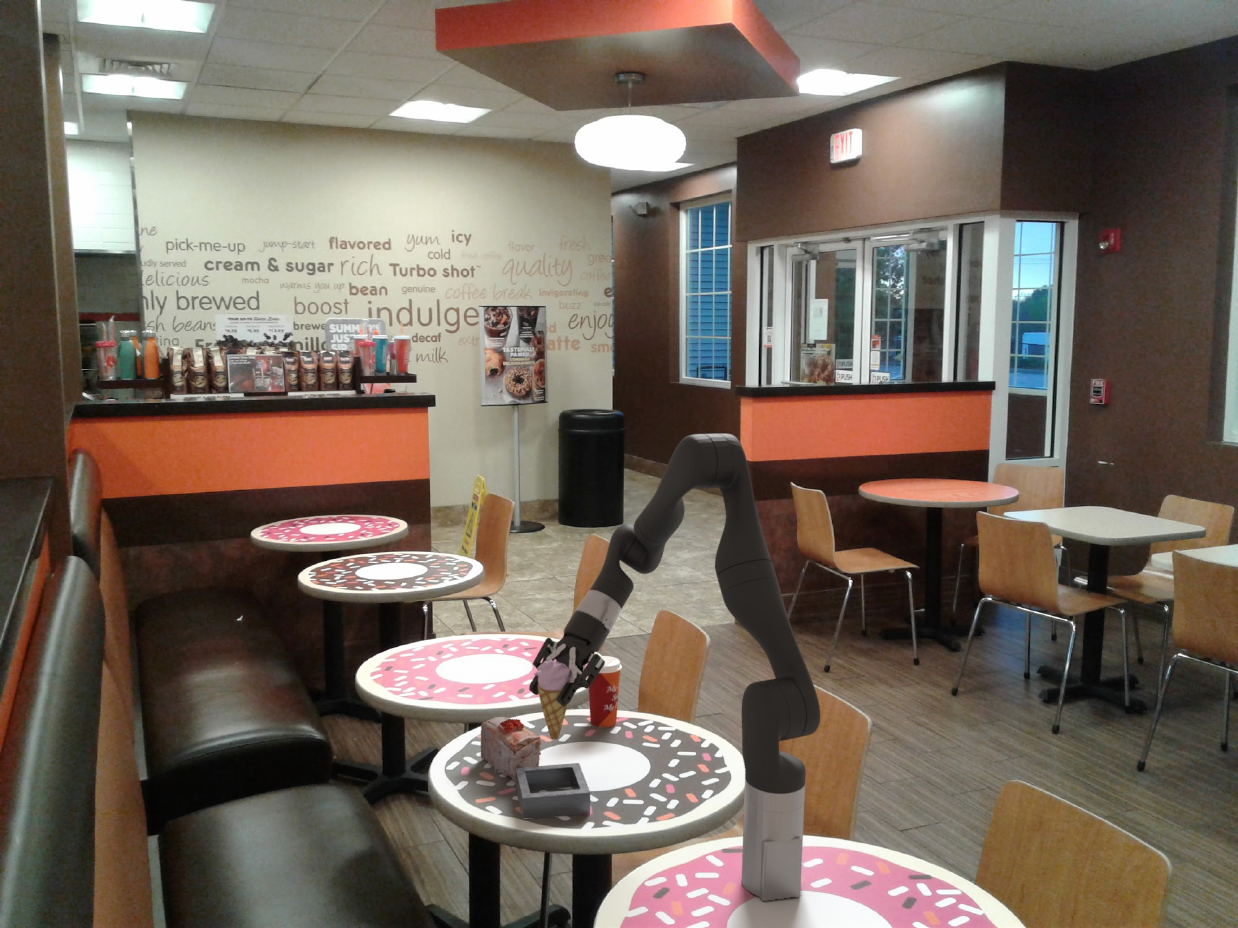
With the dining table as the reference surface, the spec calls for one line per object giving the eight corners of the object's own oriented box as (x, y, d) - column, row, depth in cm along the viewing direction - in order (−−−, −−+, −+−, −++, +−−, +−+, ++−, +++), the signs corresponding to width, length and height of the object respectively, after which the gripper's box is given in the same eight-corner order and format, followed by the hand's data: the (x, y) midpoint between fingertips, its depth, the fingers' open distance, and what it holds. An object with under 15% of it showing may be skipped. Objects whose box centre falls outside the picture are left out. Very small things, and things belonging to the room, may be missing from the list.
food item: (546, 774, 192) (547, 726, 191) (512, 786, 187) (512, 737, 186) (507, 750, 203) (507, 704, 201) (473, 761, 198) (473, 714, 196)
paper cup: (617, 731, 213) (617, 668, 211) (582, 727, 214) (582, 665, 212) (624, 716, 220) (625, 656, 218) (590, 713, 222) (590, 653, 220)
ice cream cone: (528, 740, 179) (528, 660, 177) (544, 727, 185) (544, 649, 182) (562, 747, 176) (561, 665, 174) (577, 733, 182) (577, 654, 180)
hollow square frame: (590, 813, 178) (590, 792, 177) (522, 819, 175) (522, 798, 175) (578, 782, 189) (579, 762, 189) (515, 787, 187) (515, 767, 186)
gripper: (556, 601, 187) (508, 677, 181) (611, 618, 178) (563, 698, 171) (576, 622, 192) (530, 697, 185) (631, 639, 182) (585, 719, 176)
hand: (546, 697), depth 178 cm, fingers closed on ice cream cone, 6 cm apart
